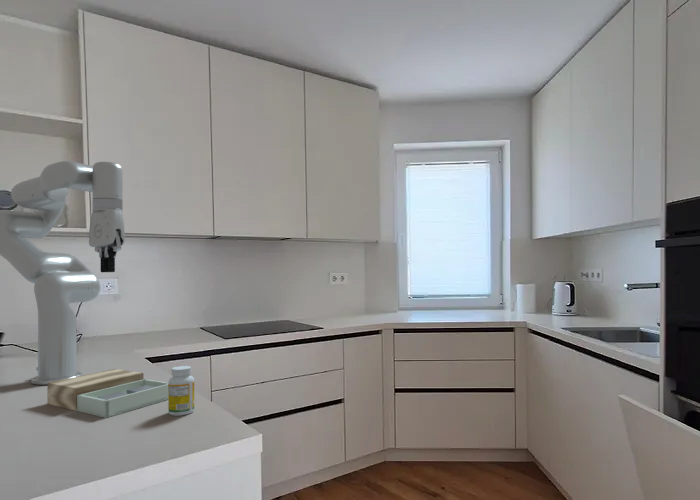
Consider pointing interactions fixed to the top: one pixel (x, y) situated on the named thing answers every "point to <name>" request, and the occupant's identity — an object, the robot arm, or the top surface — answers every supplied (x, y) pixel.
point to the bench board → (87, 386)
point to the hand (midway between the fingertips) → (107, 272)
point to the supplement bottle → (181, 391)
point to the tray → (122, 398)
